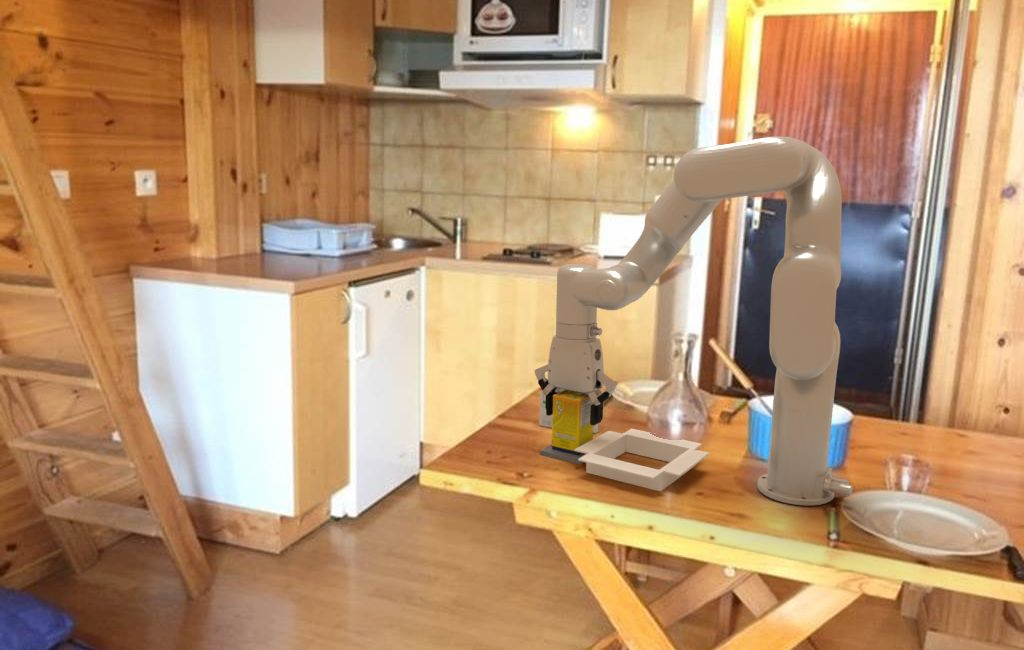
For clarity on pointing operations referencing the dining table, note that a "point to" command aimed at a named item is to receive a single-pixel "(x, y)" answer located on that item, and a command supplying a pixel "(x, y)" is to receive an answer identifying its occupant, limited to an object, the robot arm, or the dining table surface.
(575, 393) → the supplement box
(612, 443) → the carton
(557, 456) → the coaster
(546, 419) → the ink box
